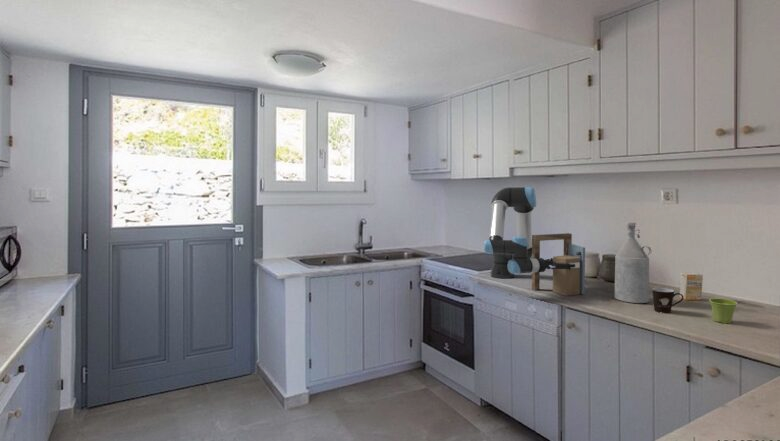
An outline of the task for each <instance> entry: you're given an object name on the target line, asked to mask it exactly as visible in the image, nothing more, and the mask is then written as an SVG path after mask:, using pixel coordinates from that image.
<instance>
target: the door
mask: <svg viewBox="0 0 780 441" xmlns="http://www.w3.org/2000/svg"><path fill="white" fill-rule="evenodd" d="M568 256H574V257H579V258H580V295H585V293H586V291H585V284H586V283H585V282H586V279H585V278H586V271H585V270H586V247H584V246H581V245H577V244H573V243H572V244H568Z"/></svg>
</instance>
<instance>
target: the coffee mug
mask: <svg viewBox="0 0 780 441" xmlns="http://www.w3.org/2000/svg"><path fill="white" fill-rule="evenodd" d="M651 291H652V302H653V310H655V311H654V312H657V313H660V312H662V313H661V314H670V312H671V313H672V307H673V306H675V305H677V304H680V303H681V302H682V301H683V300H684V299H683V295H682V294H680V292H679V293H678V292H676V293H675V290H674V289H672V288H665V287H653V288H652V290H651ZM677 295H679V296H680V295H681V296H682V299H681V298H680V300H678V301H677V302H675V303H673V302H674V297H675V296H677Z"/></svg>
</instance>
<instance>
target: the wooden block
mask: <svg viewBox="0 0 780 441" xmlns="http://www.w3.org/2000/svg"><path fill="white" fill-rule="evenodd" d="M552 258H553V262H556V263H565V264H568V263H577V262H579V263H580V258H579V257H574V256H568V255H564V254H563V255H557V256H556V255H555V256H552ZM553 264H554V263H553ZM552 293H555V294H556V295H557V294H558V295H561V296H565V297H570V296H577V295H581V293H580V268H571V269H570V270H568V269H552Z"/></svg>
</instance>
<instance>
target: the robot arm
mask: <svg viewBox="0 0 780 441" xmlns="http://www.w3.org/2000/svg"><path fill="white" fill-rule="evenodd" d="M490 207H491V210H492V211H491V219H490V227H489V228H490V229H489V236H488V239H485V240H484V244H483V251H484V254H489V255H493V257H492V258H493V259H492V260H493V261H492V262H493V263H492V264H493V265H492V267H491V270H490V277H491V278H495V277H497V279H511V278H515V275H520V274H531V275H532V272H533V273H535V272H540V273H544V272H545V271H546V269H547V270H553V269H568V270H570V269H571V268H580V263H579V262H577V263H568V264H565V263H556V262H553V257H550V258H547V259H546V258H545V259H544V258H542V257H540V258H536V259H535V258H532V211H534V208H536V207H537V196H536V190H535V188H533V187H530V186H525V187H523V186H521V187H513V186H512V187H509V186H508V187H504V188H501V189H500V190H499V191H497V192H496V193H495V195H494V196H493V197H492V200H491V204H490ZM508 208H513V211H514V212H515V213H516V215H515V217H516V236H513V237H512V239H507V240H505V239H504V237H505V236H504V234H505V233H504V232H505V226H506V225H505V224H506V211H507V210H508ZM553 263H554V264H553Z"/></svg>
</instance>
